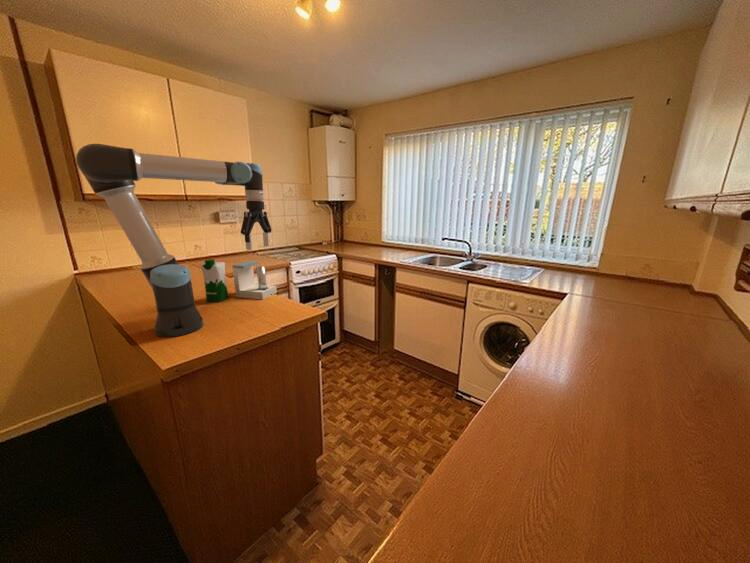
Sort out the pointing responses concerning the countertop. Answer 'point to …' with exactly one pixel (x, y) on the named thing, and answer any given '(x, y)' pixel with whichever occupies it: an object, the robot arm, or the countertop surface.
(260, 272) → the peg
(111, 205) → the robot arm
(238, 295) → the l-shaped bracket
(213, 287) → the milk carton
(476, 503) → the countertop surface
